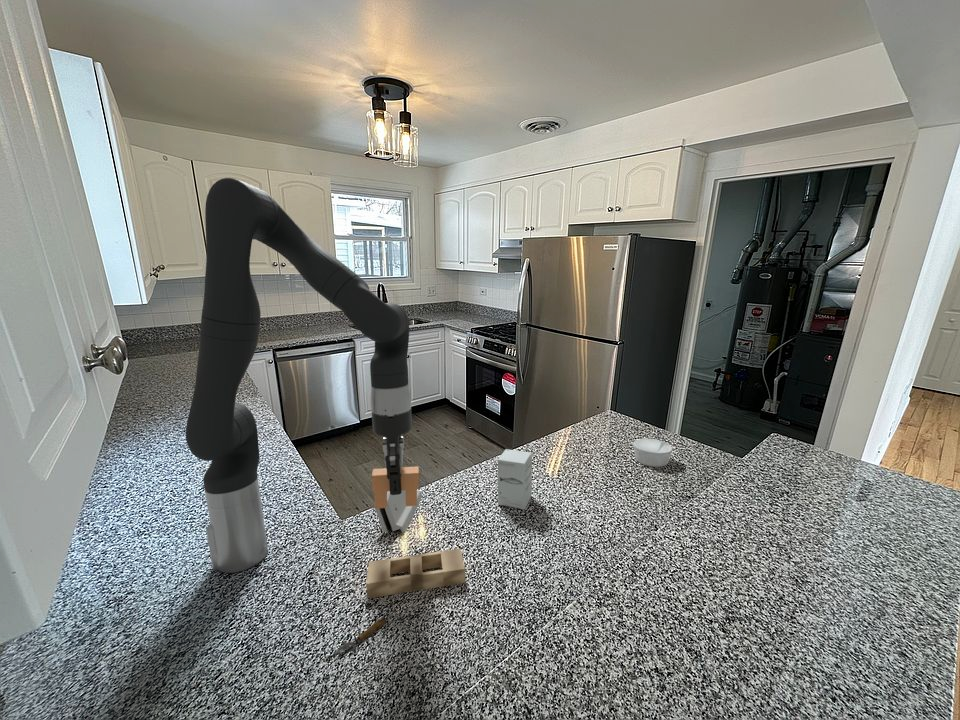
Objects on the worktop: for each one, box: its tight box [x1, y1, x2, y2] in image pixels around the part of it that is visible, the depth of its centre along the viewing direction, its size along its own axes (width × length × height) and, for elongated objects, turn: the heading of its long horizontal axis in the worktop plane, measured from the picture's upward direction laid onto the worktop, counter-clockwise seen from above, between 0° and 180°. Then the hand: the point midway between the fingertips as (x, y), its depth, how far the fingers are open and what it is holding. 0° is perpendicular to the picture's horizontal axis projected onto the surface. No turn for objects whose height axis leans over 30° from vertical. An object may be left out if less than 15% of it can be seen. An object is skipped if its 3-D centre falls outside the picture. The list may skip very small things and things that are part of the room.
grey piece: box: [374, 490, 423, 534], centre depth 97 cm, size 17×5×10 cm, turn 173°
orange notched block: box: [371, 465, 420, 510], centre depth 79 cm, size 9×3×7 cm, turn 100°
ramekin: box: [632, 438, 673, 468], centre depth 123 cm, size 11×11×5 cm
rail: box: [365, 548, 466, 599], centre depth 75 cm, size 18×6×3 cm, turn 101°
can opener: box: [333, 616, 387, 658], centre depth 63 cm, size 9×2×1 cm, turn 132°
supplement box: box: [497, 448, 533, 510], centre depth 101 cm, size 7×7×13 cm
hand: (396, 489), depth 79 cm, fingers closed on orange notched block, 3 cm apart
